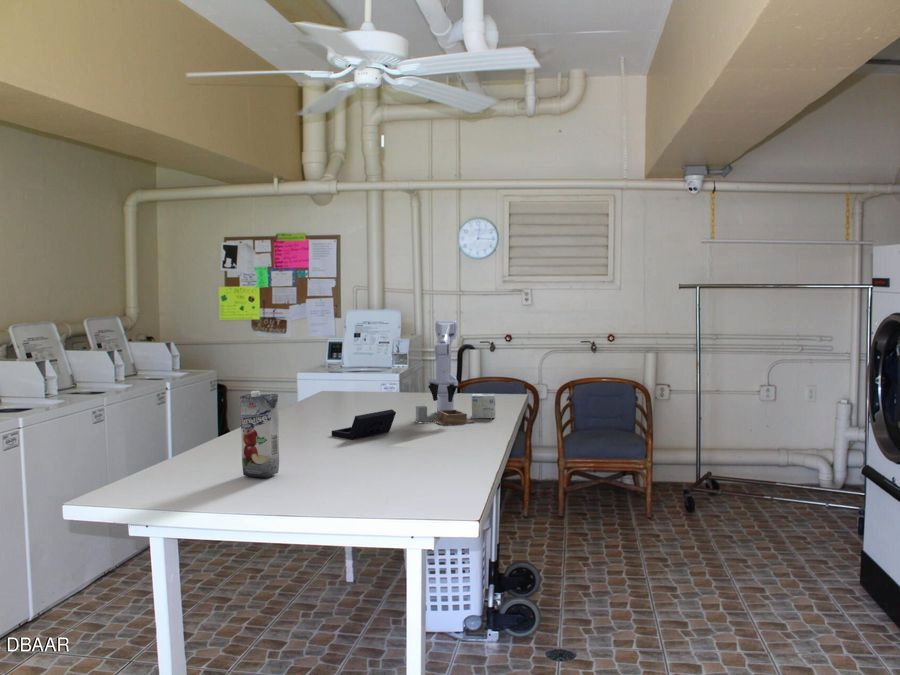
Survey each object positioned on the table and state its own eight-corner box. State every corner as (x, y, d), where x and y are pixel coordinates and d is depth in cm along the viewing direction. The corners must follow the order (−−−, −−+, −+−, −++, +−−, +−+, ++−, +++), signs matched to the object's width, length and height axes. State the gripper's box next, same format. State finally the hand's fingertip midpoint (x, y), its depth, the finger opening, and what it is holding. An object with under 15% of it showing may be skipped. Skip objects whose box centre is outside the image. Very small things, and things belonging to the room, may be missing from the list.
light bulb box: (495, 416, 341) (495, 393, 340) (495, 419, 334) (494, 395, 333) (472, 416, 342) (472, 393, 341) (471, 418, 335) (471, 395, 334)
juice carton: (255, 470, 240) (253, 388, 239) (283, 472, 237) (281, 389, 235) (238, 476, 232) (236, 391, 230) (266, 479, 228) (264, 392, 227)
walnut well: (430, 420, 332) (429, 411, 332) (463, 417, 337) (462, 408, 337) (440, 425, 319) (440, 415, 319) (474, 422, 324) (474, 413, 324)
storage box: (368, 429, 313) (368, 406, 312) (396, 433, 302) (396, 409, 302) (331, 437, 297) (331, 412, 296) (359, 442, 286) (359, 416, 286)
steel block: (415, 421, 329) (415, 406, 328) (424, 421, 330) (424, 405, 330) (418, 423, 325) (418, 407, 324) (427, 422, 326) (427, 406, 326)
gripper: (423, 370, 323) (424, 401, 324) (452, 372, 316) (452, 403, 316) (432, 369, 329) (432, 399, 330) (460, 370, 322) (460, 401, 323)
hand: (442, 401), depth 324 cm, fingers open, 7 cm apart
